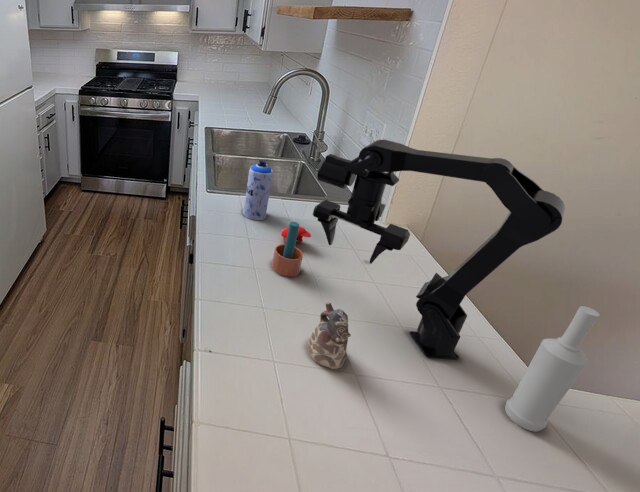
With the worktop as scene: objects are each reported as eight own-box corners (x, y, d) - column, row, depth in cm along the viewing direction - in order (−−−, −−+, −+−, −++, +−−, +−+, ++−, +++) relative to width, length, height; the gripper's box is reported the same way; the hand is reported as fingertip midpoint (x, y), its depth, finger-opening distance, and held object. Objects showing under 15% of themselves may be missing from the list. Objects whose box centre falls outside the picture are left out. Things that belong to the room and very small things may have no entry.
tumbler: (302, 277, 103) (306, 260, 101) (275, 276, 103) (279, 259, 101) (294, 260, 109) (297, 244, 107) (268, 259, 110) (271, 243, 108)
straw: (290, 270, 105) (299, 227, 99) (280, 268, 105) (289, 225, 100) (290, 265, 107) (299, 222, 101) (280, 263, 108) (289, 220, 102)
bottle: (502, 398, 72) (562, 294, 62) (541, 416, 69) (610, 309, 59) (504, 420, 68) (568, 312, 58) (545, 439, 65) (620, 329, 55)
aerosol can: (238, 209, 136) (246, 157, 128) (259, 207, 137) (267, 156, 129) (249, 221, 129) (257, 166, 121) (270, 219, 130) (280, 165, 122)
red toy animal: (278, 245, 116) (282, 229, 114) (280, 235, 121) (283, 219, 119) (307, 252, 113) (311, 235, 110) (308, 242, 118) (311, 225, 116)
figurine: (323, 372, 76) (336, 327, 72) (299, 344, 83) (310, 300, 78) (352, 364, 78) (367, 319, 74) (327, 337, 85) (339, 294, 80)
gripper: (427, 200, 84) (406, 258, 90) (338, 172, 97) (325, 225, 103) (411, 217, 77) (389, 279, 83) (318, 185, 90) (305, 240, 96)
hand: (350, 253), depth 91 cm, fingers open, 9 cm apart
